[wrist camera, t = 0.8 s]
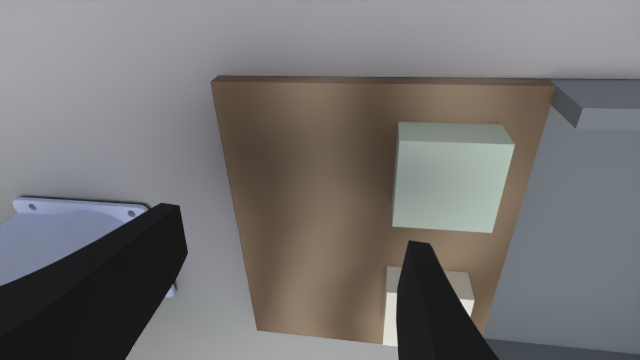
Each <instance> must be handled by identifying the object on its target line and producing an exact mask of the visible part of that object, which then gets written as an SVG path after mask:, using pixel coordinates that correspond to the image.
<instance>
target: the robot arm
mask: <svg viewBox="0 0 640 360" xmlns="http://www.w3.org/2000/svg"><path fill="white" fill-rule="evenodd" d="M12 204H13V207H14V208H15V210H16V212H17V214H15V215H14V216H13V217H11V218H10V219H8V220H7V221H6V222H4V223H3V224H2V225H0V360H125V359H126V357H127V356H128V354H129V352H130V351H131V349H132V347H133V346H134V344H135V342H136V341H137V339H138V338H139V336H140V334H141V333H142V331H143V330H144V328H145V327H146V325H147V324H148V322H149V321H150V319H151V318H152V316H153V315H154V313H155V311H156V310H157V308H158V307H159V305H160V304H161V302H162V301H163V299H164V298H165V297H167V298H171V297H173V296H174V294H175V293H176V290H175V287H174V284H173V283H174V282H175V280H176V278H177V276H178V274H179V272H180V270H181V268H182V265H183V263H184V261H185V259H186V256H187V254H188V251H187V245H186V239H185V234H184V228H183V223H182V217H181V211H180V206H179V205H172V204H166V203H160V204H158V205H156V206H154V207H153V208H151V209H149V210H148V208H147V207H145V206H143V205H138V204H122V203H106V202H90V201H75V200H59V199H43V198H27V197H18V198H16V199H15V200H13V202H12ZM132 211H133V212H132ZM396 329H397V343H398V356H399V360H500V359H499V358H498V357H497V356H496V354H495V353H494V352H493V350H492V349H491V347H490V346H489V345H488V343H487V342H486V340H485V339H484V337H483V336H482V335H481V333H480V332H479V330H478V328H477V327H476V325H475V324H474V322H473V321H472V319H471V318H470V316H469V315H468V313H467V311H466V310H465V308H464V306H463V305H462V303H461V301H460V299H459V298H458V296H457V294H456V293H455V291H454V289H453V287H452V285H451V284H450V282H449V280H448V278H447V276H446V274H445V272H444V270H443V268H442V266H441V264H440V262H439V260H438V258H437V256H436V254H435V252H434V249H433V247H432V246H431V244H430V243H425V242H419V241H412V240H409V241H408V245H407V249H406V253H405V257H404V261H403V265H402V270H401V274H400V278H399V282H398V286H397V302H396Z"/></svg>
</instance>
